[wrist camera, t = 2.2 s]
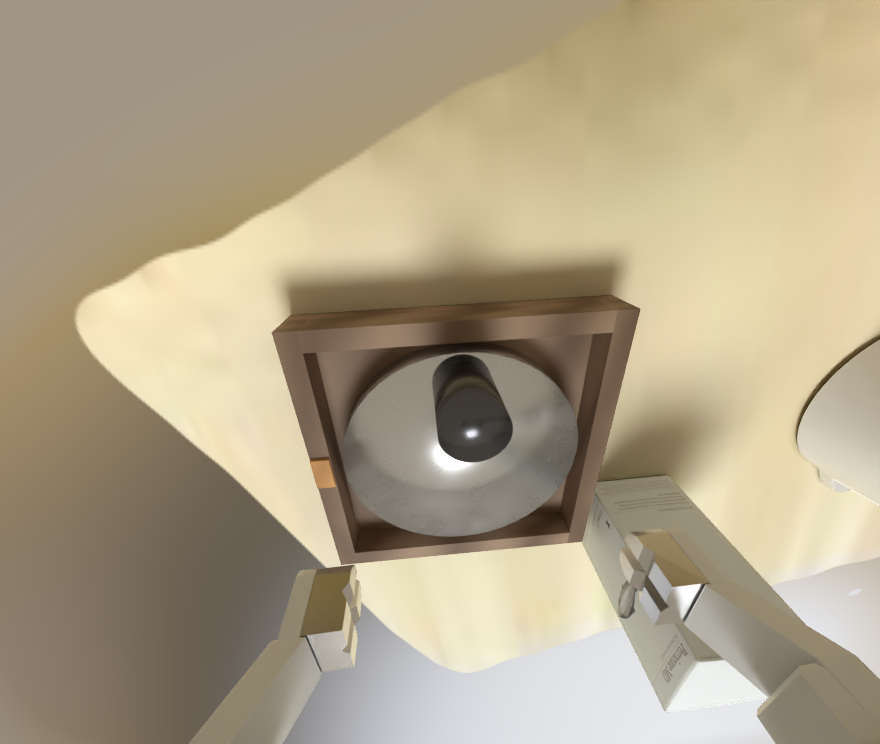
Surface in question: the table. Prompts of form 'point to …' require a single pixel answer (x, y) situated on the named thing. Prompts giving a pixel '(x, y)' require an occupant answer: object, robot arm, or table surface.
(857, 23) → the table surface
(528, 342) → the dial housing
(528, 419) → the dial
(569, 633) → the table surface
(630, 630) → the supplement box
